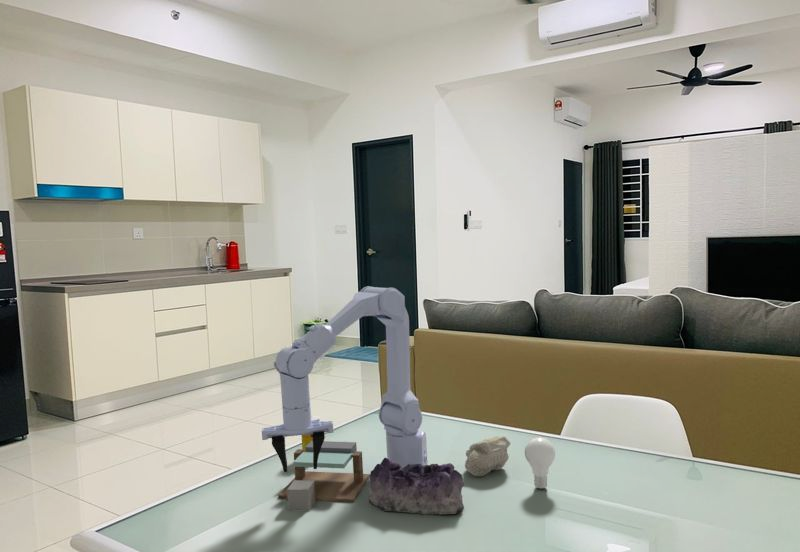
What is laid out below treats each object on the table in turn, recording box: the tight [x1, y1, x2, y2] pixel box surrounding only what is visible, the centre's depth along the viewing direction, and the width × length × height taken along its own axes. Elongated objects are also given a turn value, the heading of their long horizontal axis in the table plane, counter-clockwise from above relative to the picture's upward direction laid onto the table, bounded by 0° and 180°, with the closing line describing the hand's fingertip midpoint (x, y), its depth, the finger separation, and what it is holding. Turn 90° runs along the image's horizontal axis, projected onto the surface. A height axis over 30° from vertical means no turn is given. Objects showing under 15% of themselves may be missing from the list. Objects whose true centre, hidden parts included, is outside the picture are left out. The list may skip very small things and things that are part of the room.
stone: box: [286, 480, 317, 512], centre depth 123 cm, size 4×4×4 cm
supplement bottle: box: [301, 415, 321, 452], centre depth 149 cm, size 6×6×10 cm
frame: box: [277, 448, 370, 503], centre depth 131 cm, size 17×13×7 cm
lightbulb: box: [524, 436, 556, 490], centre depth 126 cm, size 6×6×11 cm
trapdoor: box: [292, 440, 358, 470], centre depth 133 cm, size 12×11×2 cm
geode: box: [368, 457, 465, 516], centre depth 121 cm, size 20×12×10 cm, turn 81°
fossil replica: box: [464, 435, 511, 478], centre depth 136 cm, size 12×8×10 cm
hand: (300, 468), depth 123 cm, fingers open, 5 cm apart
